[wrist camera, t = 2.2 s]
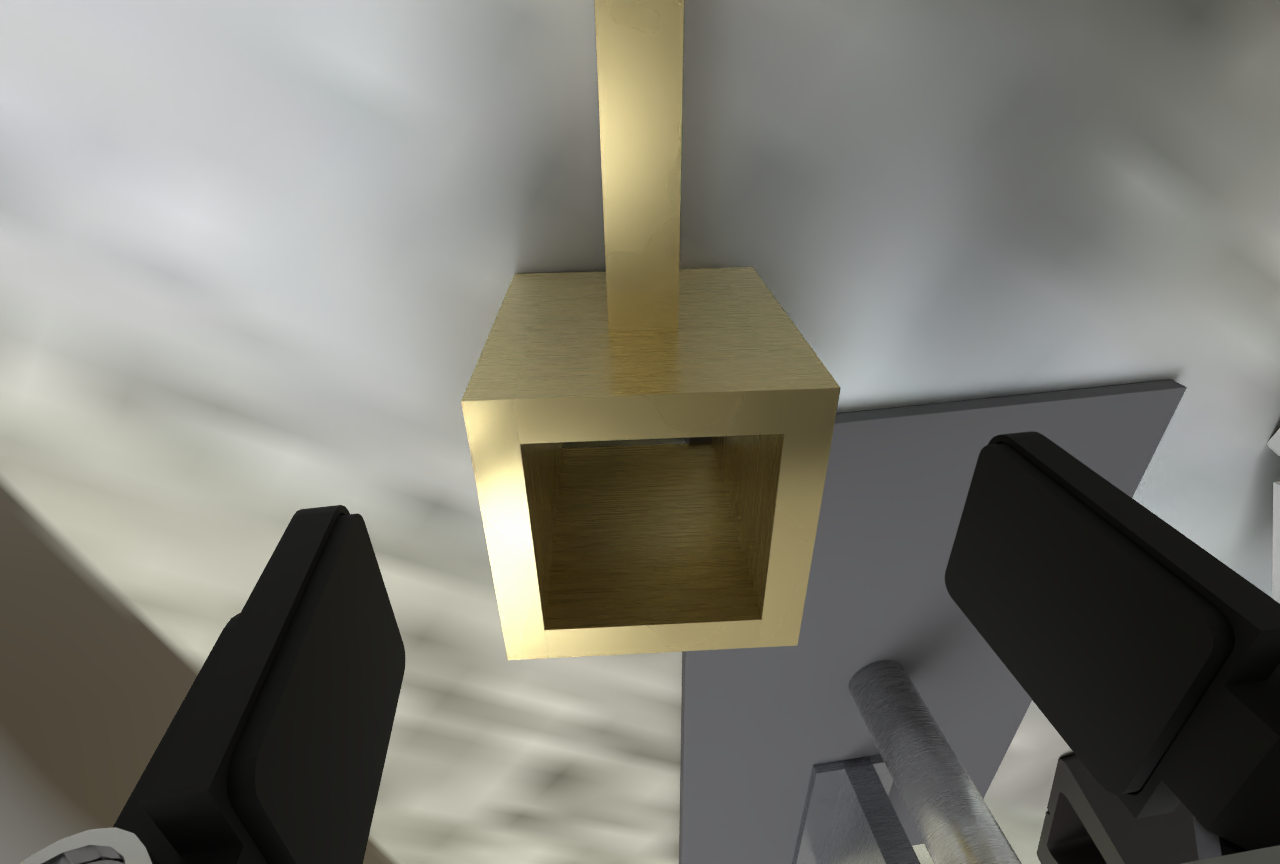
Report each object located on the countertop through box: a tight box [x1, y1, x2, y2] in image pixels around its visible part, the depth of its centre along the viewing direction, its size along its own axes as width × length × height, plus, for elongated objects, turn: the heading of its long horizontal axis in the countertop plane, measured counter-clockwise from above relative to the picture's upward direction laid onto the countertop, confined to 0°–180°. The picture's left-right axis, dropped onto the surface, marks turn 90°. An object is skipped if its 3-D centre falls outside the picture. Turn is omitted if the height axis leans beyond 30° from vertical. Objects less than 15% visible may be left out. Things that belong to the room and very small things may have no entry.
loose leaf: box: [461, 0, 840, 660], centre depth 8 cm, size 12×4×5 cm, turn 0°
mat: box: [679, 380, 1187, 864], centre depth 20 cm, size 21×12×1 cm, turn 1°
